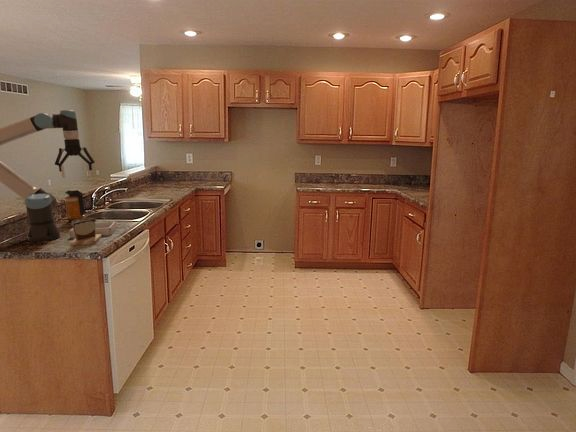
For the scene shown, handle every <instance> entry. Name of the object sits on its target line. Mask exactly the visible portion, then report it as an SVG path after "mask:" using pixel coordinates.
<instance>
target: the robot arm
mask: <svg viewBox="0 0 576 432" xmlns="http://www.w3.org/2000/svg"><path fill="white" fill-rule="evenodd" d="M46 129H62V135H63V139H64V140H63V141H64V142H63V143H64V147H63V148H62V147H59V148H58V154H57V157H56V159H55V162H54V165H55V166H58V169H59V172H61V177H62V179H63V178H66V173H65V166H64V165H63V164H64V163H65V162H66V160H67V159H68V158H69V157H73V156H79V158H81V159H82V160H83V161H84V162H86V164H87V165H86V167H87V175H88V177H92V172H91V171H92V170H93V167H92V165H93V164H95V160H94V159H93V157H92V156H91V154H90V153H89V151H88V148H87V147H85V146H84V147H81V142H80V135H79V127H78V120H77V114H76V111H75V110H71V109H69V110H68V109H66V110H65V109H64V110H60V111H59V113H57V114H56V113H53V114H50V113H46V112H39V113H37V114H36V115H33V116H31V117H27V118H24V119H22V120H20V121H17V122H14V123H11V124H9V125H6V126H3V127H0V146H4V145H5V144H8V143H11V142H14V141H17V140H19V139H22V138H25V137H26V136H30V135H33V134H35V133H37V132H40V131H41V132H42V131H43V130H46ZM64 151H65V155H64V156H63V158H62V155H63V153H64ZM82 151H83V152H84V154H85V155H86V156H87V157H86V156H85V155H84V154H83V153H82ZM0 183H1V184H3V185H4V186H5V187H7V188H8V189H9V190H11V191H12V192H13V193H15V194H16V195H17V196H18V197H20V198H21V199H23V204H24V205H25V208H26V213H27V218H28V219H27V220H28V224H29V226H28V232H27V237H26V238H27V241H28V242H29V241H30V242H31V243H38V242H39V243H40V242H41V243H42V242H49V241H54V240H56V239H59V238H60V237H61V232H60V230H59V228H58V226H57V224H56V223H55V216H54V211H55V210H56V209H57V207H58V201H57V198H56V197H55V196H54V195H53V194H52V193H49V192H47V191H45V190H44V189H43V188H41V187H35V186H34V185H33V184H32V183H31V182H29V181H27V180H26V179H25V178H24V177H22V176H21V175H19V173H17V172H16V171H14V169H12V168H11V167H10V166H8V165H7V164H5V163H4V162H3V161H2V160H0Z"/></svg>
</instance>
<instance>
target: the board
mask: <svg viewBox="0 0 576 432" xmlns="http://www.w3.org/2000/svg"><path fill="white" fill-rule="evenodd" d="M102 237H103V236H102V233H100V234H96V237H93V238H89V239H84V240H80V241H77V240H76V237H75V238H72V240H71V241H70V242H69V245H70V246H71V247H72V246H81V245H93V244H97V243H98V242H99V240H100V239H101V238H102Z"/></svg>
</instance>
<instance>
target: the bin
mask: <svg viewBox="0 0 576 432" xmlns="http://www.w3.org/2000/svg"><path fill="white" fill-rule="evenodd" d="M116 229H117V221H101V222H95V234H100V233H102V235H103V236H112V234H113V233H114V232H115V231H116ZM68 232H69V233H68V234H69V237H70V239H74V238H75V237H76V236H75V232H74V228H73V227H72V228H71V229H69V230H68Z"/></svg>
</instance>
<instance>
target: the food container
mask: <svg viewBox="0 0 576 432" xmlns="http://www.w3.org/2000/svg"><path fill="white" fill-rule="evenodd" d="M95 223H97V220H96V217H83V218H81V219H76V220H73V221H72V222H71V225H70V226H71V227H72V228H74V232H75V236H76V240H77V241H80V240H84V239H89V238H93V237H96V234H95Z"/></svg>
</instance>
